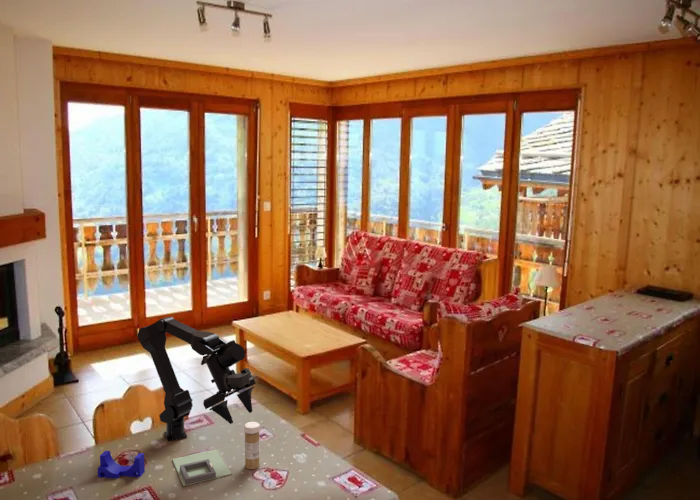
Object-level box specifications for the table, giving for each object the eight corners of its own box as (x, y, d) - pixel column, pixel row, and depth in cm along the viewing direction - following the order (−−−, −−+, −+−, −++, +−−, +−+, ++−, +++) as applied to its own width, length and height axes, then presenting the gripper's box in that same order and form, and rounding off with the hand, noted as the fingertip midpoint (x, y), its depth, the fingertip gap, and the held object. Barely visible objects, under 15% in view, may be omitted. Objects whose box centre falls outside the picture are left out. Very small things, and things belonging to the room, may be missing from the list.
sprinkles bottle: (257, 461, 173) (257, 420, 171) (261, 468, 169) (261, 426, 167) (242, 464, 171) (242, 422, 169) (246, 471, 167) (246, 429, 165)
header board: (172, 460, 173) (172, 453, 172) (217, 450, 179) (217, 443, 179) (183, 486, 158) (183, 479, 158) (231, 475, 165) (231, 467, 165)
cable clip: (97, 477, 162) (97, 458, 162) (106, 469, 167) (105, 450, 166) (137, 480, 161) (136, 461, 160) (144, 472, 166) (144, 453, 165)
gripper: (216, 371, 163) (239, 421, 161) (256, 354, 180) (277, 398, 177) (193, 384, 169) (214, 432, 166) (233, 366, 185) (253, 410, 183)
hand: (241, 417), depth 173 cm, fingers open, 9 cm apart
